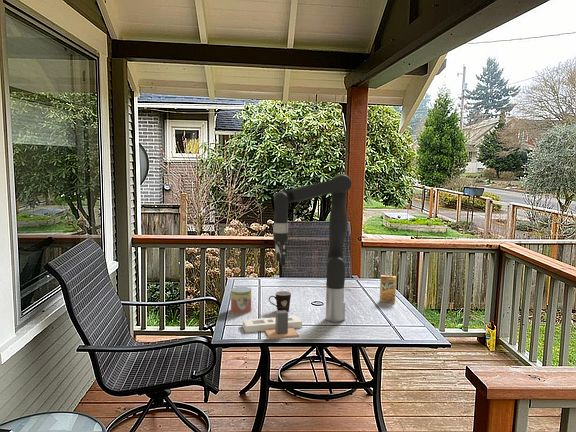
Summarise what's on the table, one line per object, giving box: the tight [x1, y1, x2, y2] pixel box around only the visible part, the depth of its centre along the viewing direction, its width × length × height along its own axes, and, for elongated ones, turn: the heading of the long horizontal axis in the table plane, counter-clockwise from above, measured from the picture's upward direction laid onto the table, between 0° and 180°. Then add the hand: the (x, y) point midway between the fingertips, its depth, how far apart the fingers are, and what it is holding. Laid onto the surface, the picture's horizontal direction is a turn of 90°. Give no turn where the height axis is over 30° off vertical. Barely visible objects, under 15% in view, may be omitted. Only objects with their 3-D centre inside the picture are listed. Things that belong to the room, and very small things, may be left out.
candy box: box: [379, 274, 397, 304], centre depth 265 cm, size 9×4×15 cm, turn 72°
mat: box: [264, 327, 299, 340], centre depth 213 cm, size 14×10×1 cm
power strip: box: [242, 315, 303, 333], centre depth 222 cm, size 28×9×3 cm, turn 105°
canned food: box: [230, 286, 252, 315], centre depth 246 cm, size 11×11×12 cm
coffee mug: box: [268, 290, 292, 313], centre depth 246 cm, size 12×9×10 cm
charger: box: [275, 310, 289, 334], centre depth 212 cm, size 5×4×10 cm
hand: (280, 263), depth 228 cm, fingers open, 8 cm apart
